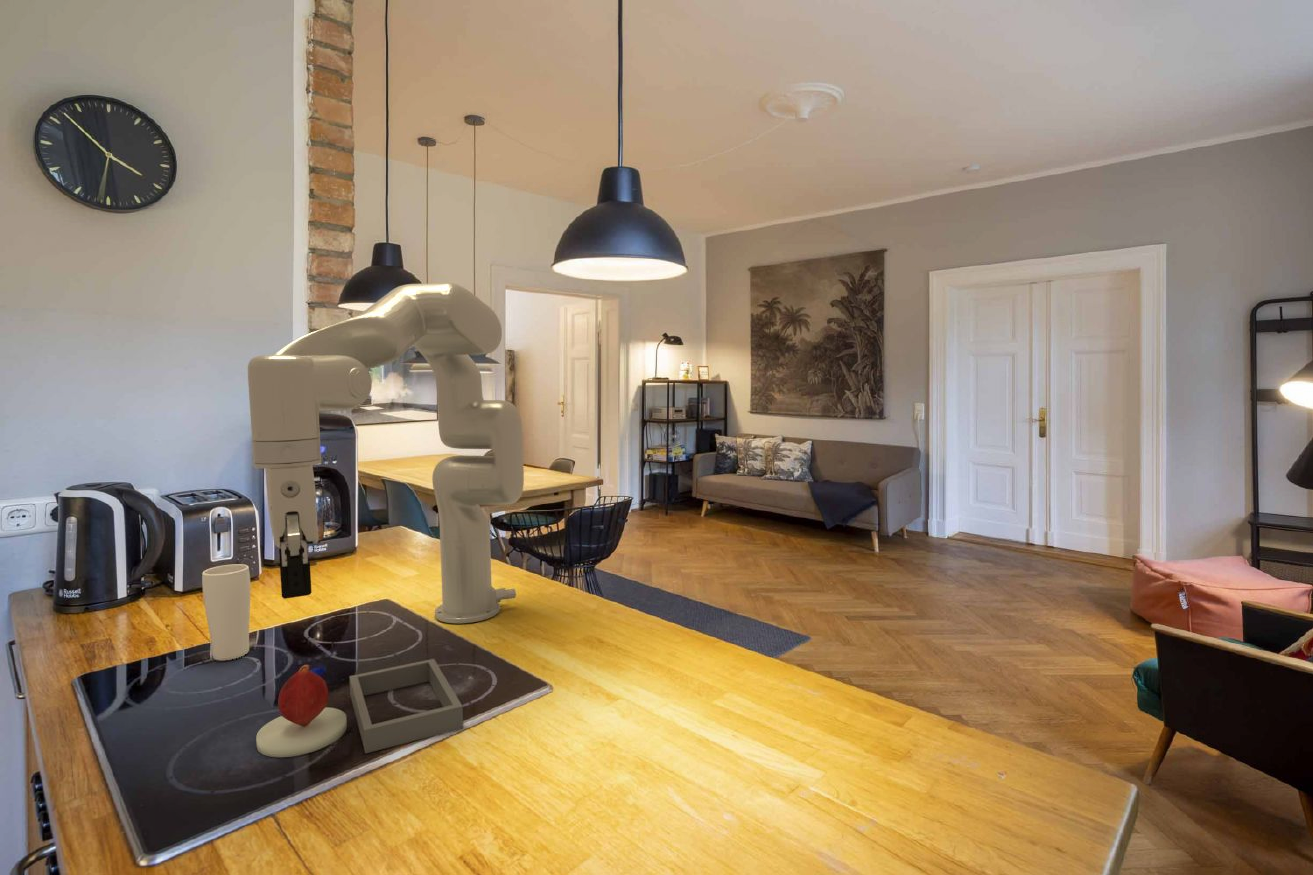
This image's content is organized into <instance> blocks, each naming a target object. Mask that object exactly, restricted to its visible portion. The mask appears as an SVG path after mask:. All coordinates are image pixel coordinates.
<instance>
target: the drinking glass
mask: <svg viewBox="0 0 1313 875" xmlns="http://www.w3.org/2000/svg"><path fill="white" fill-rule="evenodd" d="M250 574H251V573H250V567H249V565H247V564H242V563H241V564H240V563H239V564H236V563H235V564H225V565H217V566H214V567H210V568H208V569H206V570H203V572H202V574H201V575H202V576H201V577H202V578H201V579H202V580H201V583H202V596H203V603H204V610H205V615H206V621H207V628H208V630H209V631H208V632H209V637H210V643H211V644H210V645H211V655H212V659H214V660H216V661H219V662H224V661H226V660H227V661H232V659H233V660H236V658H237V659H240V658H242V657H244V656H245V654H246V655H248V653H249V652H250V621H251V620H250V617H251V616H250V615H251V613H250V612H251V575H250ZM241 656H242V657H241ZM239 657H240V658H239Z"/></svg>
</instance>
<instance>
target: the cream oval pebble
mask: <svg viewBox="0 0 1313 875" xmlns="http://www.w3.org/2000/svg"><path fill="white" fill-rule="evenodd" d="M347 727H348V724H347V714H346V713H345V712H344V711H343V710H341V709H338V708H335V707H330V706H329V707H327V706H326V707H325V708H324V710H323V711H322V712H321V713H320V714H319V715H318V716H317V717H316V718H315V719H313V720H312V721H311V723H310V724H309V725H307V726H300V725H298V724H295V723H293V722H290V721H288V720H287V719H285V718H284V717H283V716H282V715H280V716H278V717H276V718H274V719H272V720H270V721H268V722H267V723H266V724H264V725H263V726H262V727H261V728H259V730H258V732H257V734H256V737H255V738H256V739H255V742H256V748H257V751H258V752H259V753H260V754H262V755H263V756H267V757H272V758H291V757H297V756H302V755H306V754H309V753H313V752H316V751H318V750H321V749H323V748H326V747H328V746H330V745H331V744H333V743H335V742H336V741H338V740H339V739H341V737H342V736H344V734H345V733H346V731H347Z"/></svg>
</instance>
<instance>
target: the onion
mask: <svg viewBox="0 0 1313 875" xmlns="http://www.w3.org/2000/svg"><path fill="white" fill-rule="evenodd" d="M329 695H330V694H329V688H328V686H327V682H326V681H325V680H324V679H323V677H321V676H320V675H319V674H317V673H315V672H312V671H311V670H310V665H309V664H304V665H302V666H301V667H300V668H299V670H298V671H297V672H296V673H294V674H292V676H290V677H289V678H288V679H287V681H285V683H284V684H283V685H282V687H281V689H280V691H279V693H278V699H277V700H278V701H277V706H278V712H279V714H280V716H283V717H284V718H285V719H287V720H288V721H290V722H293V723H295V724H298V725H300V726H307V725H309V724H310V723H311V721H312V720H313V719H315V718H316V717H317V716H318V715H319V714H320V713H321V712H322V711H323V710H324V708H325V707H327V704H328V702H329V697H330V696H329Z"/></svg>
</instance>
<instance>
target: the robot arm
mask: <svg viewBox="0 0 1313 875" xmlns="http://www.w3.org/2000/svg"><path fill="white" fill-rule="evenodd" d="M502 331H503V330H502V325H501V322H500V319H499V317H498V315H497V313H495V311H494V310H493V309H492V307H490V306H489V305H488V304H486V303H485V302H484V301H483V300H481V299H480V298H479V297H478V296H477V295H475V294H474V293H472V292H471V291H470V290H468V289H467V288H465V287H463V286H461V285H459V284H457V283H454V282H431V283H408V284H403V285H399V286H397V287H395V288H393V289H392V290H390V291H389V292H388V293H387V294H384V296H383V297H380V299H378V300H377V301H375V303H372V305H370V306H368V307H367V308H366V309H365V310H364V311H363V312H361V313H360V314H358V315H356V316H352V317H350V318H348V319H344V320H341V321H339V322H337V323H334V324H331V325H329V326H326V327H323V328H320V329H318V330H315V331H312V332H310V333H308V334H305V335H302V336H300V337H298V338H296V339H294V340H292V341H291V342H289V343H287V344H286V345H285V346H283V347H282V348H281V349H279V350H277V351H275V353H274V354H265V355H264V354H263V355H257V356H254V357H253V358H251V359H250V360H249V362H248V365H247V383H248V394H249V395H248V396H249V398H248V399H249V400H248V401H249V410H250V412H249V413H250V415H249V416H250V427H251V428H250V429H251V440H252V442H251V445H252V460H253V468H255V469H256V468H257V469H265V470H264V471H265V481H266V482H265V485H266V497H267V506H268V516H269V521H270V528H271V534H272V537H273V543H274V546H275V547H277V548H279V549H278V552H279V570H280V571H279V572H280V588H281V590H280V591H281V597H282V598H283V599H284V600H287V599H293V598H300V597H306V596H309V595H311V594H312V580H311V579H312V576H311V562H310V561H309V560H308V548H307V547H308V546H307V541H308V542H312V543H313V545H314V544H317V543H318V542H319V538H320V537H319V526H318V512H317V497H316V496H317V495H316V494H317V493H316V482H315V475H314V469H313V468H314V467H313V466H316V465H320V464H322V450H321V448H322V446H321V434H320V433H321V430H320V415H319V414H320V413H319V411H321V412H324V411H325V412H328V411H329V412H331V411H332V412H334V411H335V412H336V411H343V412H344V411H348V410H354V409H355V408H358V407H359V406H361V405H362V404H364V403H365V402H366V400H367V399H368V398H369V397H370V394H371V393H372V392H371V391H372V387H373V385H372V383H373V382H372V377H371V374H370V372H369V370H371V369H375V368H378V367H382V366H385V365H388V364H391V363H393V362H395V361H397V360H398V359H399V358H400V357H402V355H404V354H405V353H406V351H408V350H409V349H410V348H411V347H412V346H414V348H415V349H416V350H417V351H418V352H419V353H420V354H421V356H422V357H423V358H424V359H425V360H426V361H427V363H428V365H429V367H430V368H431V370H432V373H433V374H434V375H433V376H434V379H435V385H436V403H437V404H436V406H437V407H436V408H437V422H438V424H437V425H438V432H439V433H438V434H439V437H440V438H439V439H440V442H442V444H443V445H444V446H445V447H448V448H451V449H461V450H491V451H492V454H493V455H451V456H449V457H446V458H443V459H441V460H440V461H439V462H437V464H436V465H435V467H434V469H433V472H432V488H433V492H434V496H435V500H436V506H437V512H438V519H439V520H438V521H439V523H438V524H439V543H440V546H439V548H440V570H441V571H440V572H441V574H440V576H441V596H442V597H441V599H442V600H441V601H442V604H440V605H439V606H437V607H436V608H435V609H434V618H435V619H436V620H437V621H440V622H442V623H446V624H447V623H448V624H470V623H476V622H482V621H485V620H488V619H491V618H493V617H495V616H496V615H497V614H499V613H500V611H501V604H500V603H501V601H502V600H511V599H516V597H517V593H516V589H515V588H509V589H506V587H503V588H502V587H501V588H497V589H495V588H494V587H493V586H492V557H491V556H492V555H491V527H490V523H489V518H488V517H487V514H486V513H485V512H484V511H483V509H482V507H481V506H480V505H482V506H483V505H485V506H487V505H490V506H492V505H493V506H507V505H513V504H515V503H516V502H518V501H519V500H520V498H522V494H523V491H524V482H525V478H524V477H525V476H524V474H525V473H524V472H525V471H524V470H525V469H524V444H523V442H524V441H523V440H524V438H523V425H522V419H521V414H520V413H519V410H518V408H517V407H516V406H515V404H513V403H512V402H510V401H508V400H503V399H501V400H500V399H488V400H487V399H484V396H483V384H482V375H481V374H482V373H481V371H480V370H479V367H478V365H477V364H476V362H475V361H474V360H473V359H472V357H471V356H470V355H472V356H474V355H477V356H478V355H479V356H481V355H488V354H490V353H493V352H494V351H496V350H497V349H498V348H499V346H500V344H501V341H502V335H503V334H502Z"/></svg>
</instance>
